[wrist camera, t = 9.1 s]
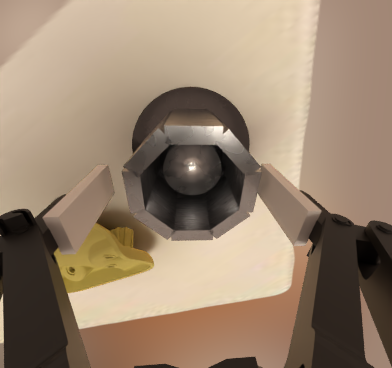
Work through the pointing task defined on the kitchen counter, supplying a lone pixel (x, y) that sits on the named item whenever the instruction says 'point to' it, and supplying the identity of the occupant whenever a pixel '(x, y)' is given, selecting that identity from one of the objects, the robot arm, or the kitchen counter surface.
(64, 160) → the kitchen counter surface
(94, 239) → the plastic component
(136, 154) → the collar
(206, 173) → the duct stub
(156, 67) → the kitchen counter surface
